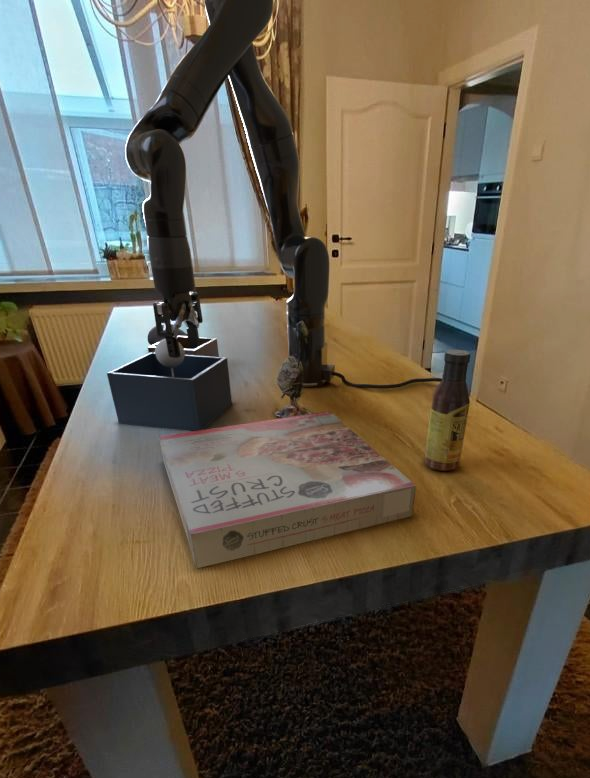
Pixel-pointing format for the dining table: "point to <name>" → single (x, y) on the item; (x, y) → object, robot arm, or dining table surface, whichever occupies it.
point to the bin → (171, 392)
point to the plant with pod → (293, 379)
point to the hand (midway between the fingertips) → (185, 351)
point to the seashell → (154, 338)
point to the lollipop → (164, 357)
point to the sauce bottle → (448, 414)
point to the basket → (205, 349)
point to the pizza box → (279, 485)
